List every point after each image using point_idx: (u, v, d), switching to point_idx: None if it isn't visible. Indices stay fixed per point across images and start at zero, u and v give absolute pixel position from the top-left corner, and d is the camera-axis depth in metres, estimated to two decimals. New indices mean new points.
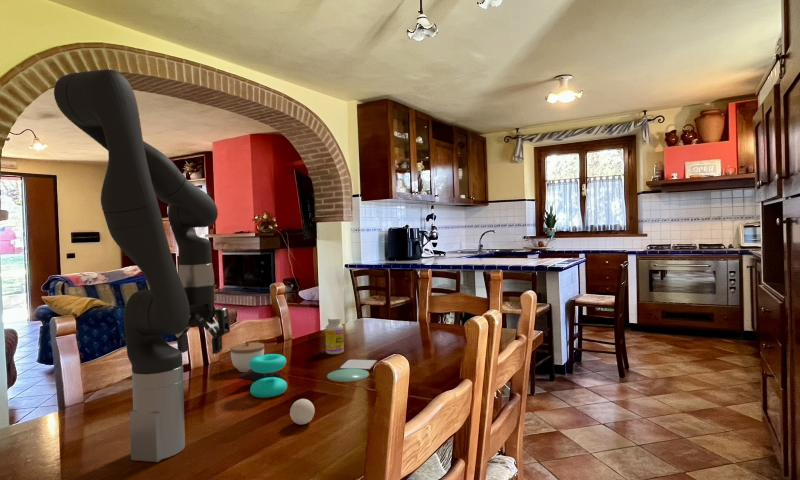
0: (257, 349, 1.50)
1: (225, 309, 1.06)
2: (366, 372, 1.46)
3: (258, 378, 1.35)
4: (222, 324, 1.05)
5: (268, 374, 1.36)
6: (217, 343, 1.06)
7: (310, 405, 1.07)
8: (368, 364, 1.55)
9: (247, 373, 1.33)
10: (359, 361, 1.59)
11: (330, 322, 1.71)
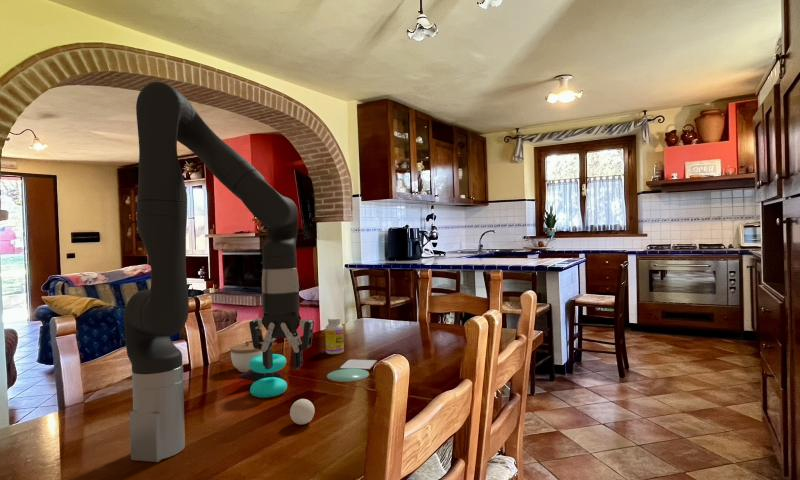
0: (257, 349, 1.50)
1: (312, 322, 0.97)
2: (366, 372, 1.46)
3: (258, 378, 1.35)
4: (307, 338, 0.96)
5: (268, 374, 1.36)
6: (298, 358, 0.97)
7: (310, 405, 1.07)
8: (368, 364, 1.55)
9: (247, 373, 1.33)
10: (359, 361, 1.59)
11: (330, 322, 1.71)
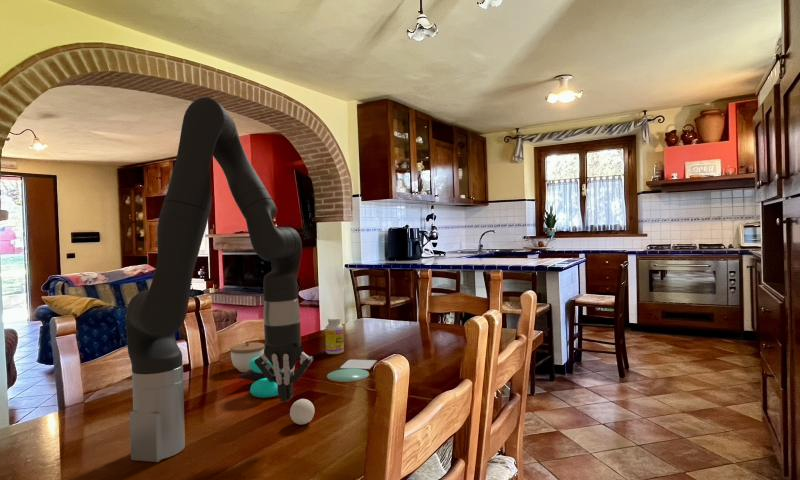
0: (257, 349, 1.50)
1: (312, 360, 0.99)
2: (366, 372, 1.46)
3: (259, 378, 1.35)
4: (300, 373, 0.97)
5: None
6: (289, 390, 0.98)
7: (310, 405, 1.07)
8: (368, 364, 1.55)
9: (248, 373, 1.34)
10: (359, 361, 1.59)
11: (330, 322, 1.71)
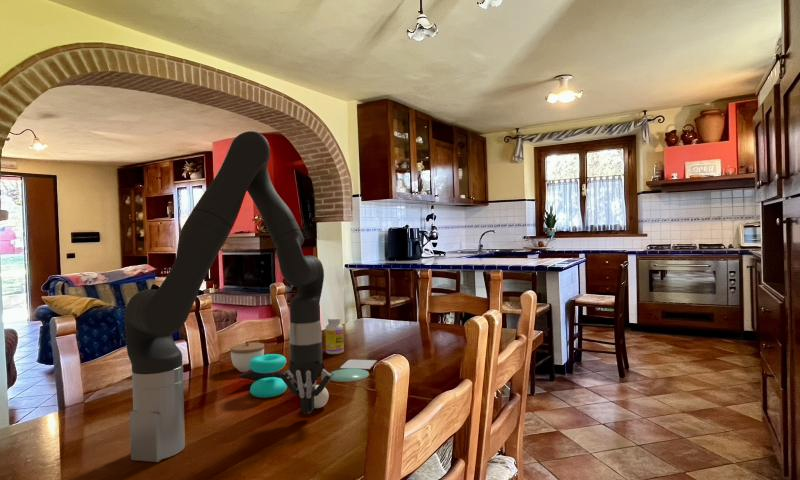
0: (257, 349, 1.50)
1: (331, 376, 1.09)
2: (366, 372, 1.46)
3: (259, 377, 1.35)
4: (321, 388, 1.08)
5: (269, 373, 1.36)
6: (310, 403, 1.09)
7: None
8: (368, 364, 1.55)
9: (248, 372, 1.34)
10: (359, 361, 1.59)
11: (330, 322, 1.71)
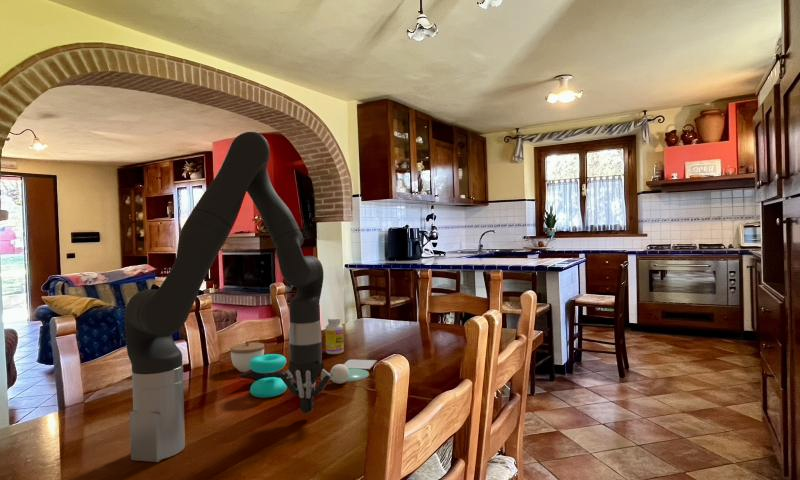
0: (257, 349, 1.50)
1: (331, 376, 1.10)
2: (366, 372, 1.46)
3: (259, 377, 1.36)
4: (321, 388, 1.08)
5: (269, 373, 1.37)
6: (310, 403, 1.09)
7: (346, 379, 1.35)
8: (368, 364, 1.55)
9: (248, 372, 1.34)
10: (359, 361, 1.59)
11: (330, 322, 1.71)
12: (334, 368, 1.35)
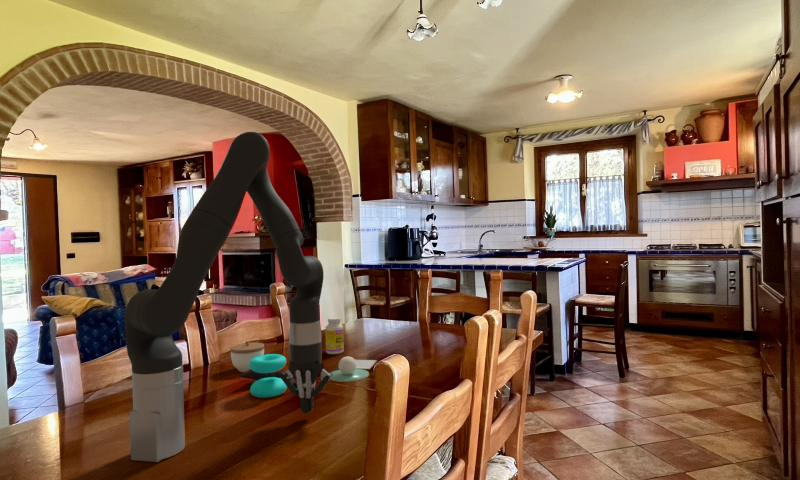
0: (257, 349, 1.50)
1: (331, 376, 1.10)
2: (366, 372, 1.46)
3: (260, 377, 1.36)
4: (321, 388, 1.08)
5: (270, 373, 1.37)
6: (310, 403, 1.09)
7: (354, 360, 1.45)
8: (368, 364, 1.55)
9: (249, 372, 1.35)
10: (359, 361, 1.59)
11: (330, 322, 1.71)
12: None
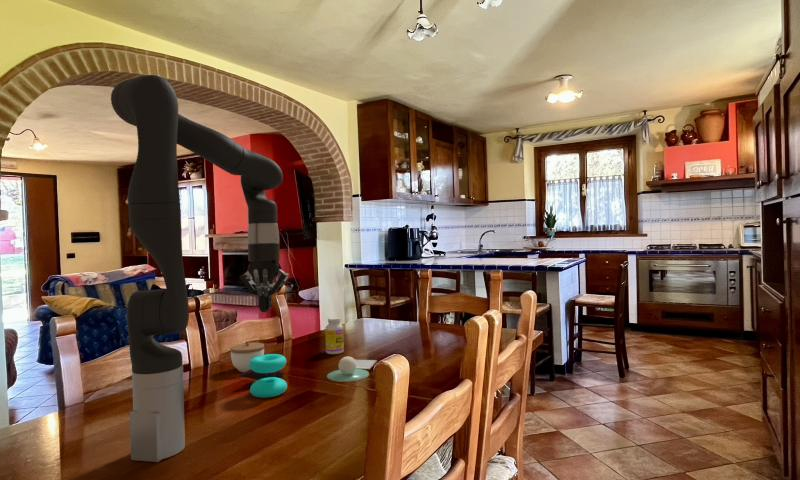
0: (257, 349, 1.50)
1: (288, 276, 1.14)
2: (366, 372, 1.46)
3: (260, 376, 1.36)
4: (277, 286, 1.13)
5: (270, 373, 1.37)
6: (268, 302, 1.14)
7: (354, 360, 1.45)
8: (368, 364, 1.55)
9: (249, 371, 1.35)
10: (359, 361, 1.59)
11: (330, 322, 1.71)
12: None
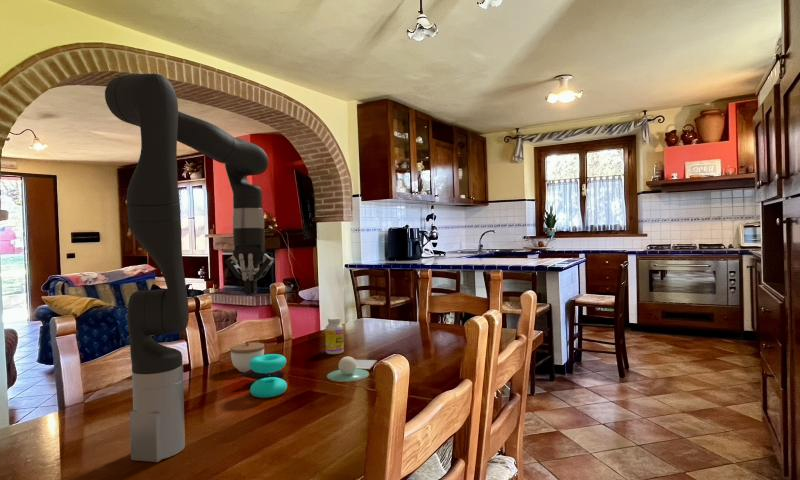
0: (257, 349, 1.50)
1: (273, 260, 1.16)
2: (366, 372, 1.46)
3: (261, 376, 1.36)
4: (262, 270, 1.15)
5: None
6: (253, 285, 1.16)
7: (354, 360, 1.45)
8: (368, 364, 1.55)
9: (250, 371, 1.35)
10: (359, 361, 1.59)
11: (330, 322, 1.71)
12: None
